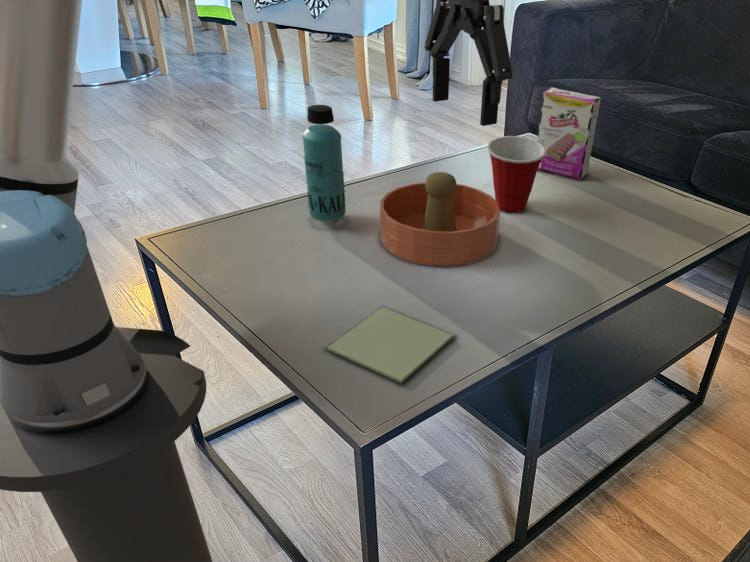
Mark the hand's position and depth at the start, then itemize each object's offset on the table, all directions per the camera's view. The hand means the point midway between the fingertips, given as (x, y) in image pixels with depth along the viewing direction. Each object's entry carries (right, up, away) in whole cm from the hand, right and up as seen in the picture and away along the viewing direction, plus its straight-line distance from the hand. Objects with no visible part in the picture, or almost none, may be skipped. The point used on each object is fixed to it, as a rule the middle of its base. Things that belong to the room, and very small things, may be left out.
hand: (463, 112), depth 105 cm
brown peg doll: (-4, -19, +8) cm, 21 cm away
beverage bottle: (-24, -16, +10) cm, 31 cm away
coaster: (-9, -38, -18) cm, 43 cm away
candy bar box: (+20, +1, +36) cm, 41 cm away
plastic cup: (+9, -11, +20) cm, 24 cm away
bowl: (-4, -19, +8) cm, 21 cm away
